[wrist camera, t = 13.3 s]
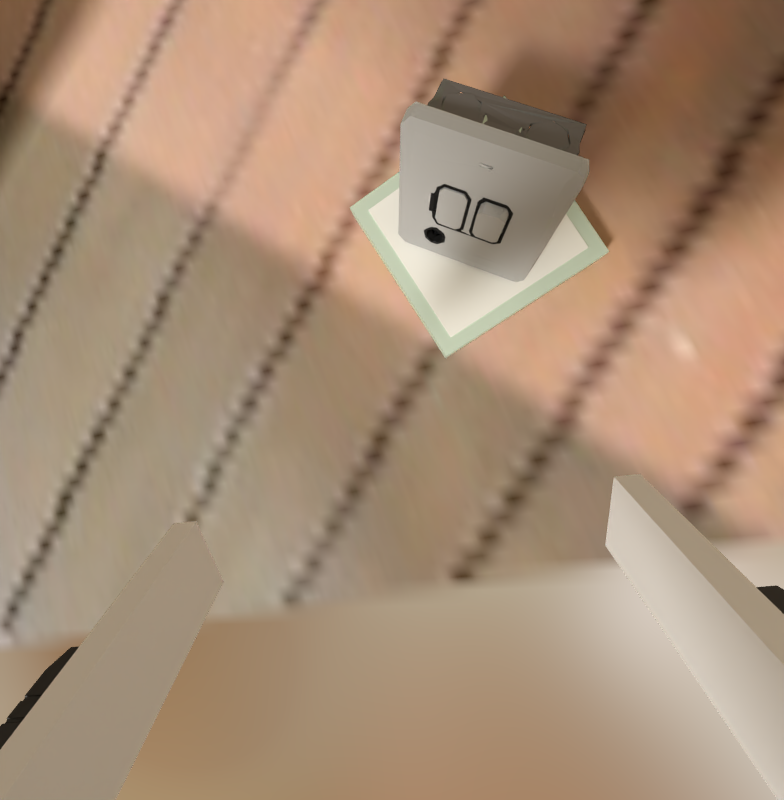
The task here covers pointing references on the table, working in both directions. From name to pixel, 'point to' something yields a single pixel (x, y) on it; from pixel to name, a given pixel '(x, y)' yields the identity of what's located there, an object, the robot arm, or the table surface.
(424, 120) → the electrical switch
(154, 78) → the table surface
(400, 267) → the board
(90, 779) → the robot arm
